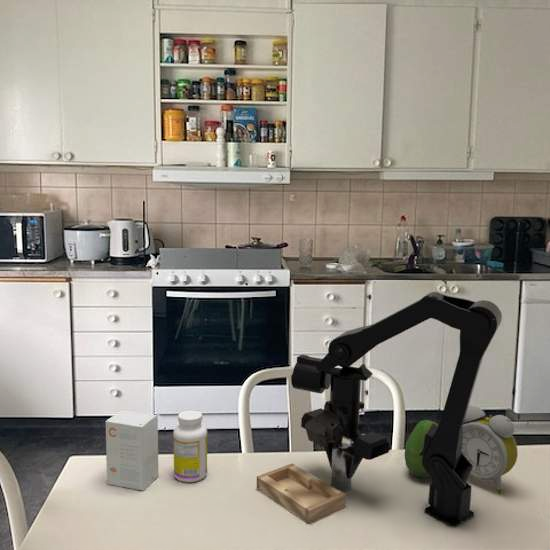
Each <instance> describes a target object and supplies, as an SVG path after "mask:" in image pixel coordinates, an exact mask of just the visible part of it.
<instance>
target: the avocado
mask: <svg viewBox="0 0 550 550" xmlns="http://www.w3.org/2000/svg"><path fill="white" fill-rule="evenodd" d="M432 423H434V424H435V425H437V426H439V425H440V424H438V423H437V422H435V421H432V420H430V419H429V420H428V419H422V420H420V421H419V422H418V423H417V424H416V425H415V427H414V429H412V431H411V433H410V435H409V436H408V438H407V441H406V444H405V448H404V455H403V456H404V461H405V462H404V463H405V466H406V467H407V469H408V471H409V472H410V473H411V474H412V475H414V476H416V477H417V478H422V479H424V478H430V475H429V474H428V473H427V472H426V470H425V469H424V467H423V466H422V458H423V455H422V456H420V455H419V454H420V452H421V450H422V449H423V447H424V439H425V434H426V433H427V431H428V430H429V428H430V426H431V425H432Z"/></svg>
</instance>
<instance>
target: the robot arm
mask: <svg viewBox="0 0 550 550" xmlns="http://www.w3.org/2000/svg"><path fill="white" fill-rule="evenodd" d="M430 319H433V320H436V321H439V322H440V323H442V324H443V325H444V324H445V325H446V326H449V327H450V328H453V329H456V330H459V354H458V355H459V356H458V359H457V362H456V364H455V365H456V366H455V369H454V372H453V376H452V380H451V382H450V387H449V390H448V393H447V397H446V401H445V403H444V407H443V411H442V414H441V418H440V422H439V424H438V425H439V426H437V425H435V424H434V423H432V425H431V426H430V428H429V430H428V431H427V433H426V434H425V439H424V447H423V449H422V450H421V452H420V454H419V455H420V456H422V455H423V458H422V466H423V467H424V469H425V470H426V472H427V473H428V474H429V475H430V477H429V478H430V481H431V483H429V490H428V491H429V492H428V502H427V503H428V505H429V506H427V507H425V508H424V513H426V514H428V515H430V516H432V517H433V518H435V519H438V520H439V521H441V522H443V523H444V524H447V525H449V526H450V527H453V528H455V527H458V526H459V525H461V524H463V523H464V522H466V521H468V520H469V519H471V518H473V517H475V512H474V511H473V510H471V497H472V488H473V487H472V485H470V484H469V483H468V481H469V478H470V476H471V475H470V473H471V470H472V468H473V466H472V464H471V463H470V462H469V461H468V460H467V458H466V457H465V456H464V455H463V454H462V442H463V424H465V422H464V419H465V416H466V413H467V409H468V406H469V405H470V403H471V398H472V397H473V396H472V395H473V392H474V390H475V386H476V382H477V378H478V375H479V371H480V369H481V365H482V362H483V357H484V355H485V353H486V351H487V350H488V348H489V346H490V344H491V342H492V340H493V338H494V336H495V334H496V332H497V331H498V329H499V327H500V325H501V322H502V319H503V315H502V311H501V310H500V308H499V306H498V305H496V304H495V303H494V302H492V301H490V300H483V299H482V300H477V301H474V300H473V301H472V300H470V299H466V298H463V297H455V296H450V295H447V294H442V293H440V292H438V291H431V292H429V293H427V294H426V295H425V296H423V297H422V298H421V299H418V300H417V301H415V302H413V303H411V304H409V305H407V306H405V307H404V308H401V309H399V310H398V311H395V312H394V313H392V314H389V315H388V316H386V317H384V318H382V319H380V320H378V321H377V322H375V323H371V324H368V325H365V326H359V327H357V328H353V329H351V330H346V331H345V332H343V333H341V334H340V335H338V336H337V337H335V338H334V339H332V340H331V341H330V342H329V343H328V347H327V351H328V352H327V354H325V356H324V357H323V358H320V357H314V356H309V355H307V354H300V355H298V356H297V357H296V362H295V365H294V366H293V370H292V374H291V375H290V382H291V386H292V388H293V389H295V390H300V391H305V392H311V393H314V394H315V393H317V394H323V393H324V392H325V390H328V389H330V393H329V400H328V401H325V403H324V405H323V408H316V409H314V410H310V411H308V412H304V413H303V415H302V417H301V418H300V419H301V420H300V421H301V422H300V423H301V425H300V427H301V428H303V429H305V431H306V435H307V439H308V441H309V442H313V443H315V444H316V445H318V446H319V447H321V448H324V450H325V453H326V456H327V459H328V463H329V467H330V469H331V468H332V446H333V445H334V444H336V443H343V439H344V440H347V441H349V442H350V447H347V448H345V449H342V450H343V451H344V452H345V454H346V455H347V470H346V472H347V478H348V479H350V478H353V477H354V475H355V473H356V471H357V470H358V467H359V466H360V464H361V462H362V461H363V459H364V460H369V461H371V460H373V459H374V460H375V459H376V458H379V457H381V456H384V455H386V454H388V453H390V441H389V439H388V438H387V437H385V436H383V435H381V434H379V433H377V432H374V431H371V432H368V433H360V432H359V430H362V429H364V423H363V422H361V421H360V410H361V409H362V410H363V409H364V408H365V402H362V401H361V389H362V381H364V382H366V381H368V380H369V379H370V378H371V377H372V376H373V372H372V371H370V369H369V368H368V367H366V364H364V363H363V364H361V365H360V366H359V367H357V366H352V365H354V364H355V363H356V362H357V361H359V360H360V359H361V358H362V357H364V356H365V355H366V354H368V353H369V352H370V351H371V350H373V349H374V348H376V347H377V346H378V345H380V344H382V343H385V342H386V341H388V340H390V339H392V338H394V337H396V336H398V335H400V334H402V333H403V332H406V331H408V330H409V329H412V328H414V327H416V326H418V325H420V324H421V323H423V322H425V321H428V320H430Z"/></svg>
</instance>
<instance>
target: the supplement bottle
mask: <svg viewBox="0 0 550 550" xmlns="http://www.w3.org/2000/svg"><path fill="white" fill-rule="evenodd" d="M177 421H178V425H177V426H176V427H174V429H173V435H172V436H173V476H174V477H175V479H176V480H178V481H180V482H184V483H194V482H195V483H196V482H199V481H201V480H202V479H204V478H206V476H207V473H208V429H207V428H206V426H205V424H203V423H202V422H203V414H202V412H201V411H198V410H185V411H182V412H180V413H178V417H177Z"/></svg>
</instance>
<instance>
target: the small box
mask: <svg viewBox="0 0 550 550" xmlns="http://www.w3.org/2000/svg"><path fill="white" fill-rule="evenodd" d="M158 418H159V416H158V414H153V413H146V412H139V411H133V410H127V409H125V410H124V409H121V410H120V411H118V412H117V413H116V414H114V415H112V416H111V417H110V418H108V419H106V420H105V422H104V423H105V448H106V450H105V451H106V453H105V455H106V485H111V486H116V487H117V486H118V487H123V488H128V489H131V490H136V491H137V490H138V491H145V490H146V488H148V487H149V486H150V485H151V484H152V483H154V481H155V480H156V479H157V478H158V477H159V476H160V475H159V471H160V470H159V428H158V427H159V426H158V425H159V421H158Z"/></svg>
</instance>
